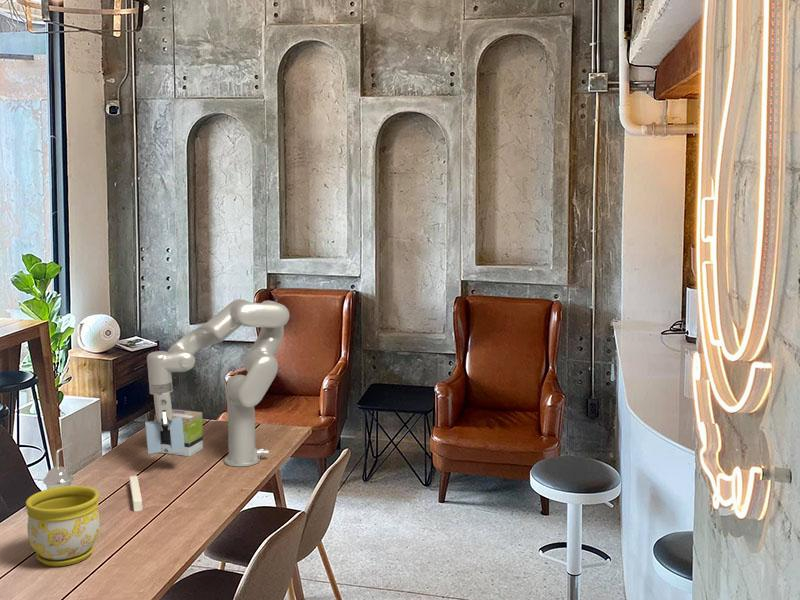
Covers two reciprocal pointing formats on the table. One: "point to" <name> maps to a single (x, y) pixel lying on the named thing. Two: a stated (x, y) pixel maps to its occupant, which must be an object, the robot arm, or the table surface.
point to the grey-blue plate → (155, 437)
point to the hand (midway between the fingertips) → (165, 438)
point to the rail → (135, 493)
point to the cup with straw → (58, 474)
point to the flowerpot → (63, 524)
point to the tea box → (187, 433)
